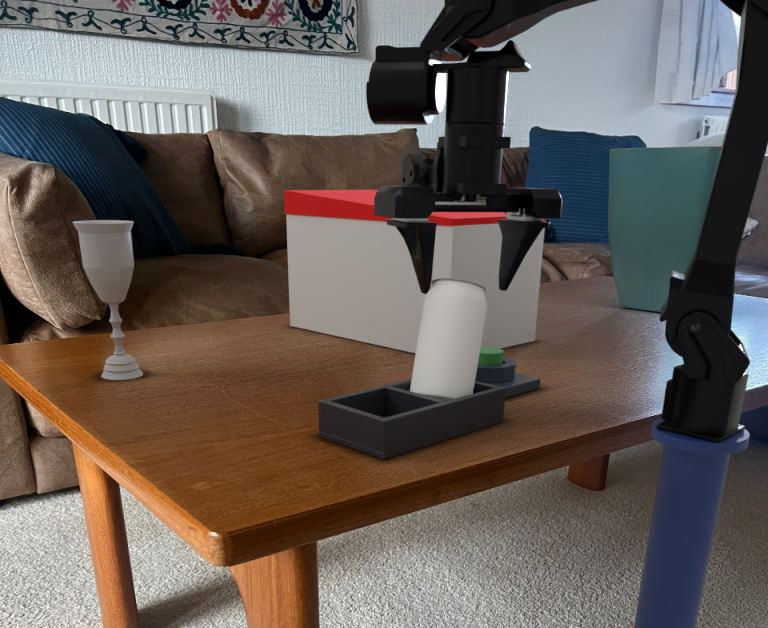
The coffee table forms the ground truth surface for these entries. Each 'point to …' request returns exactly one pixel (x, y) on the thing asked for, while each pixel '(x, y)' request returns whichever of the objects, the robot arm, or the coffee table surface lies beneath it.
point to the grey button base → (506, 378)
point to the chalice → (110, 281)
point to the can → (449, 339)
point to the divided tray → (405, 417)
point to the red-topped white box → (396, 271)
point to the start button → (490, 356)
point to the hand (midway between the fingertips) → (464, 291)
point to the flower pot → (655, 217)
